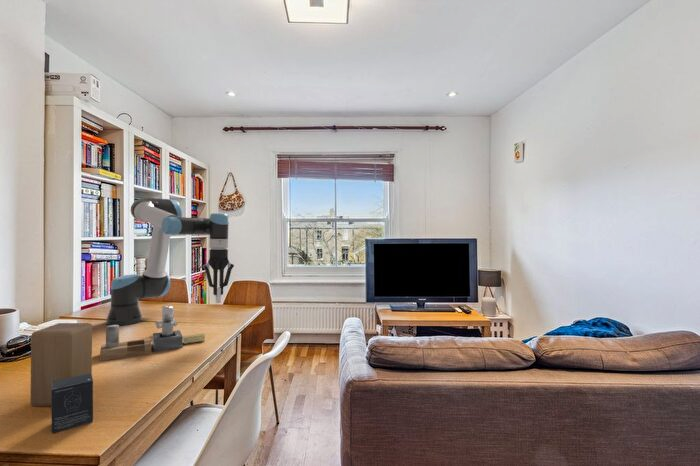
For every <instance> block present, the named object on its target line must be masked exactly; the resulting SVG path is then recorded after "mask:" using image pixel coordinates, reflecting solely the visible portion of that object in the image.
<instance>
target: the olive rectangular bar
mask: <svg viewBox="0 0 700 466" xmlns="http://www.w3.org/2000/svg"><path fill="white" fill-rule="evenodd" d="M182 336H183V344H184V345H185V344H192V343H193V344H194V343H199V342H205V340H206V339H205V337H206V335H205V333H203V332H202V333H195V334H188V335H182Z"/></svg>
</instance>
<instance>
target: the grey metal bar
mask: <svg viewBox="0 0 700 466" xmlns="http://www.w3.org/2000/svg"><path fill="white" fill-rule="evenodd" d="M161 313H162V314H161V321H162V328H161V332H162V338H163V337H170V336H173V331H174V326H173V319H174V306H173V305H164V306H162V311H161Z"/></svg>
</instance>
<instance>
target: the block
mask: <svg viewBox="0 0 700 466" xmlns="http://www.w3.org/2000/svg"><path fill="white" fill-rule="evenodd" d="M92 362H93V325H92V323H91V322H67V323H65V322H62V323H61V322H59V323H56V324H53V325H49V326H47V327H45V328H41V329H39V330H36V331H34V332H32V333H31V336H30V405H31V406H32V407H43V406H44V407H46V406H48V407H50V406H51V407H52V405H51V404H52V399H51V391H52V382H53V381H56V380H61V379H66V378H71V377H75V376H80V375H85V374H90V373H91V374H92V373H93V372H92V371H93V368H92V366H93V365H92V364H93V363H92ZM92 375H93V374H92Z"/></svg>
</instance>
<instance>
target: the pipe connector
mask: <svg viewBox="0 0 700 466" xmlns="http://www.w3.org/2000/svg"><path fill="white" fill-rule="evenodd" d="M155 325H156V329H160V328H161V329H162V320H156V321H155ZM177 326H178V322H177V320H176V319H175V318H173V327H177Z"/></svg>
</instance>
